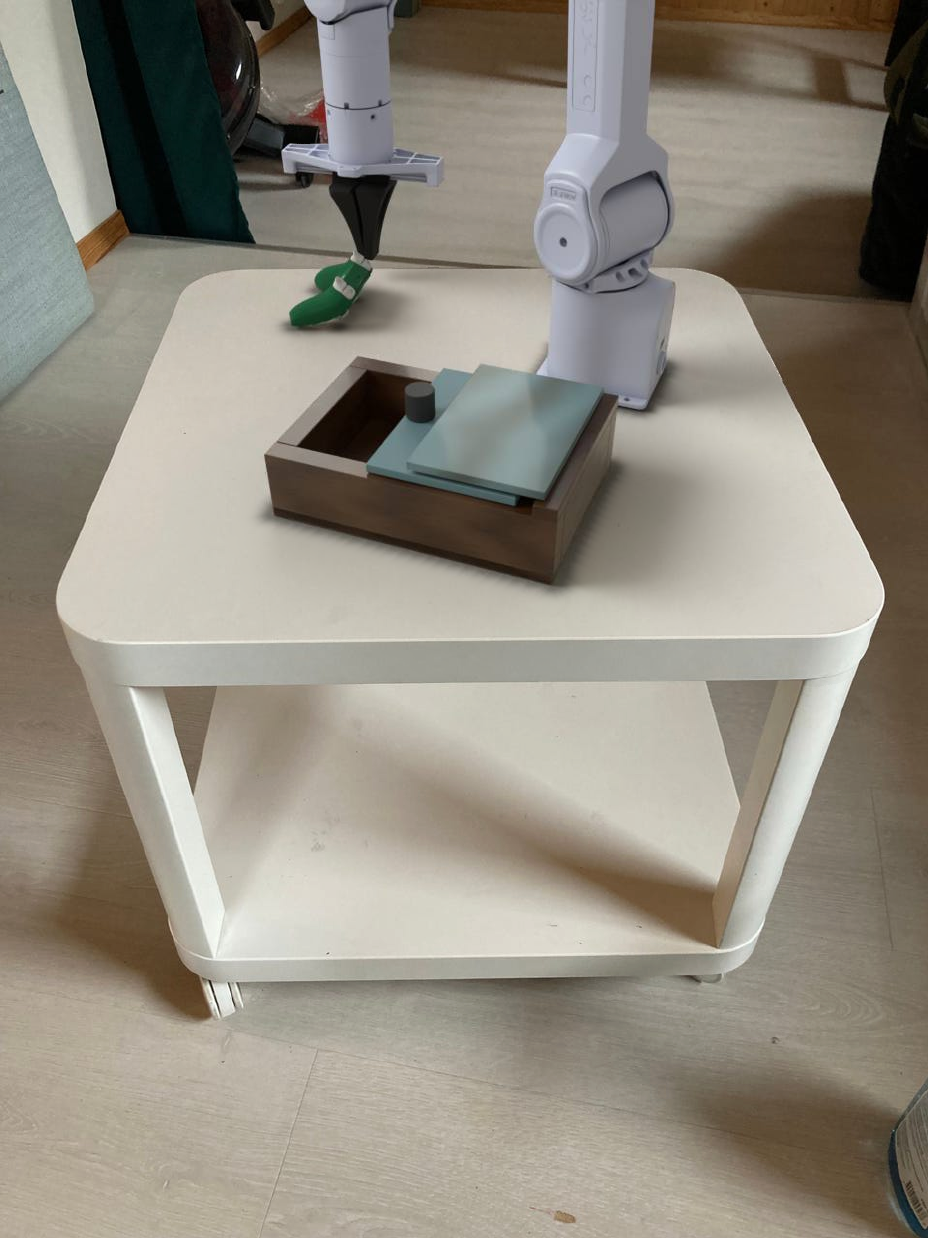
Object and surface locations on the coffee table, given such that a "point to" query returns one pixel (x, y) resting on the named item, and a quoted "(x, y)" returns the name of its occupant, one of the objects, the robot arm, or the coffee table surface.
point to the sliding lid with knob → (420, 417)
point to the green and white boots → (333, 292)
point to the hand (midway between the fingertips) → (369, 255)
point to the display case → (452, 465)
